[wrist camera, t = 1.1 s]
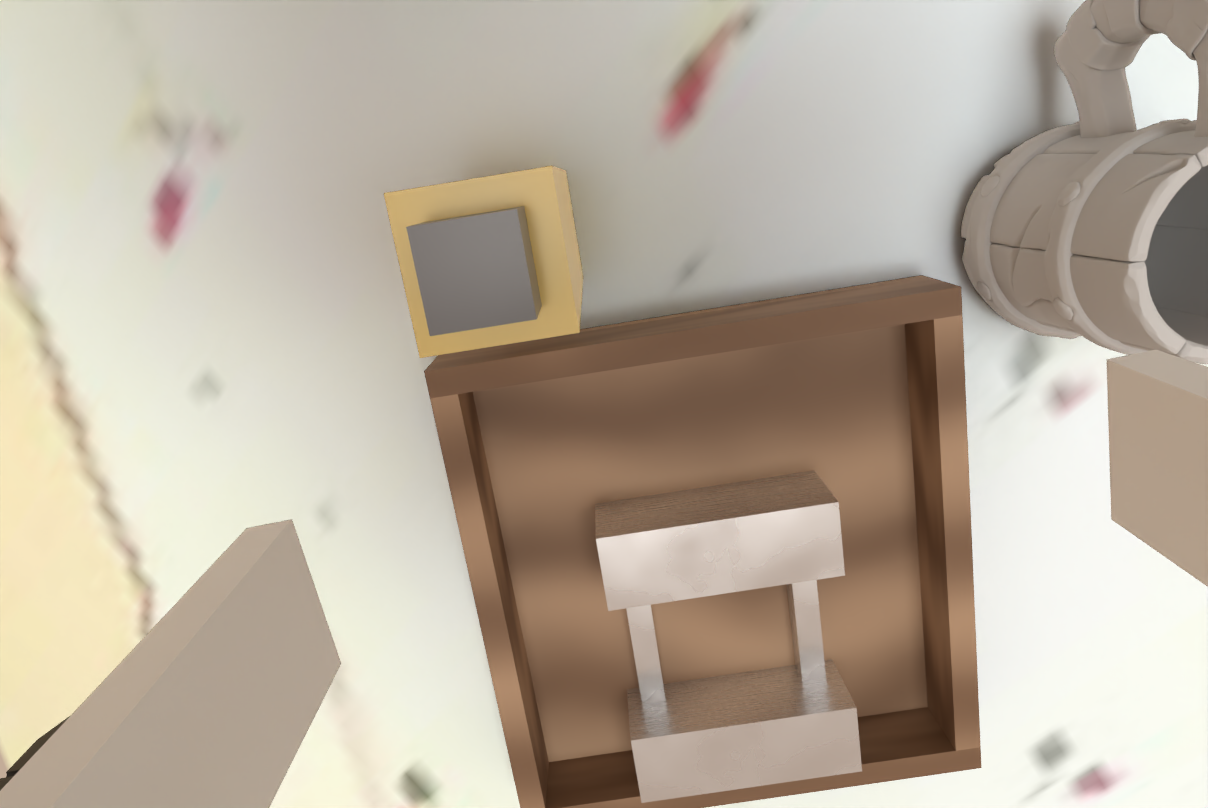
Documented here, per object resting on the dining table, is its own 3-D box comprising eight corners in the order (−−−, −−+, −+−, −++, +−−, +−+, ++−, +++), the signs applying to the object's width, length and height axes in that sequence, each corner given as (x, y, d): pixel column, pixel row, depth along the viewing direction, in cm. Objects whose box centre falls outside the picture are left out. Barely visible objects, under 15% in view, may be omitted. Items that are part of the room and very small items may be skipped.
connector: (460, 187, 31) (360, 194, 17) (565, 170, 31) (547, 163, 17) (481, 293, 32) (402, 376, 18) (583, 276, 32) (578, 348, 18)
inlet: (595, 503, 34) (595, 538, 30) (814, 470, 33) (838, 502, 30) (636, 747, 37) (641, 803, 34) (837, 718, 37) (862, 771, 33)
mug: (955, 343, 33) (1154, 433, 21) (940, 24, 30) (1164, -75, 18) (1147, 313, 33) (1454, 387, 21) (1154, -11, 30) (1517, -133, 18)
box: (441, 351, 33) (424, 371, 29) (921, 275, 32) (961, 286, 29) (531, 774, 38) (526, 833, 34) (945, 714, 37) (981, 767, 34)
